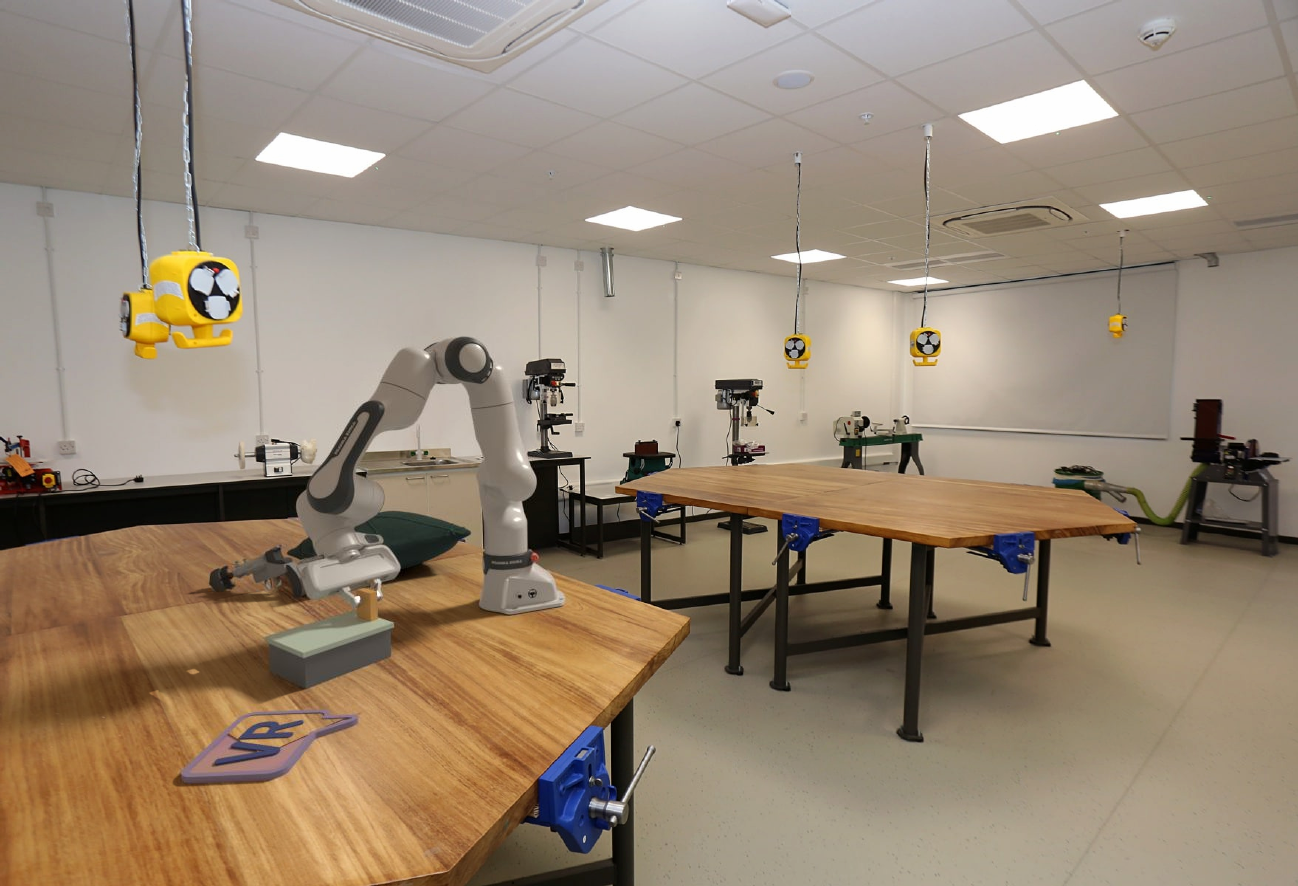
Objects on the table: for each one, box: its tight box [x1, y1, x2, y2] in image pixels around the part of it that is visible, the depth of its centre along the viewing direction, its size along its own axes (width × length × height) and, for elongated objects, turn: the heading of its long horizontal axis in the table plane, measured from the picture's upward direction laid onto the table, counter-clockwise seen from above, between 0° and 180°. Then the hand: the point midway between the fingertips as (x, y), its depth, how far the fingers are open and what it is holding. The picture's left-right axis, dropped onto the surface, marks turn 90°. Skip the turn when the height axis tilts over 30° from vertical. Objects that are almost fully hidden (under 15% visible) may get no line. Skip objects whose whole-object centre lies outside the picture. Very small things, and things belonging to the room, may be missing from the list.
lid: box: [264, 587, 395, 658], centre depth 131 cm, size 19×14×8 cm
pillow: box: [286, 510, 472, 570], centre depth 204 cm, size 44×18×44 cm
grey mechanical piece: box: [208, 543, 307, 598], centre depth 180 cm, size 6×28×16 cm, turn 78°
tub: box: [268, 628, 392, 690], centre depth 132 cm, size 18×13×7 cm
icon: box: [180, 709, 359, 784], centre depth 103 cm, size 19×2×20 cm
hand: (368, 603), depth 137 cm, fingers open, 3 cm apart
